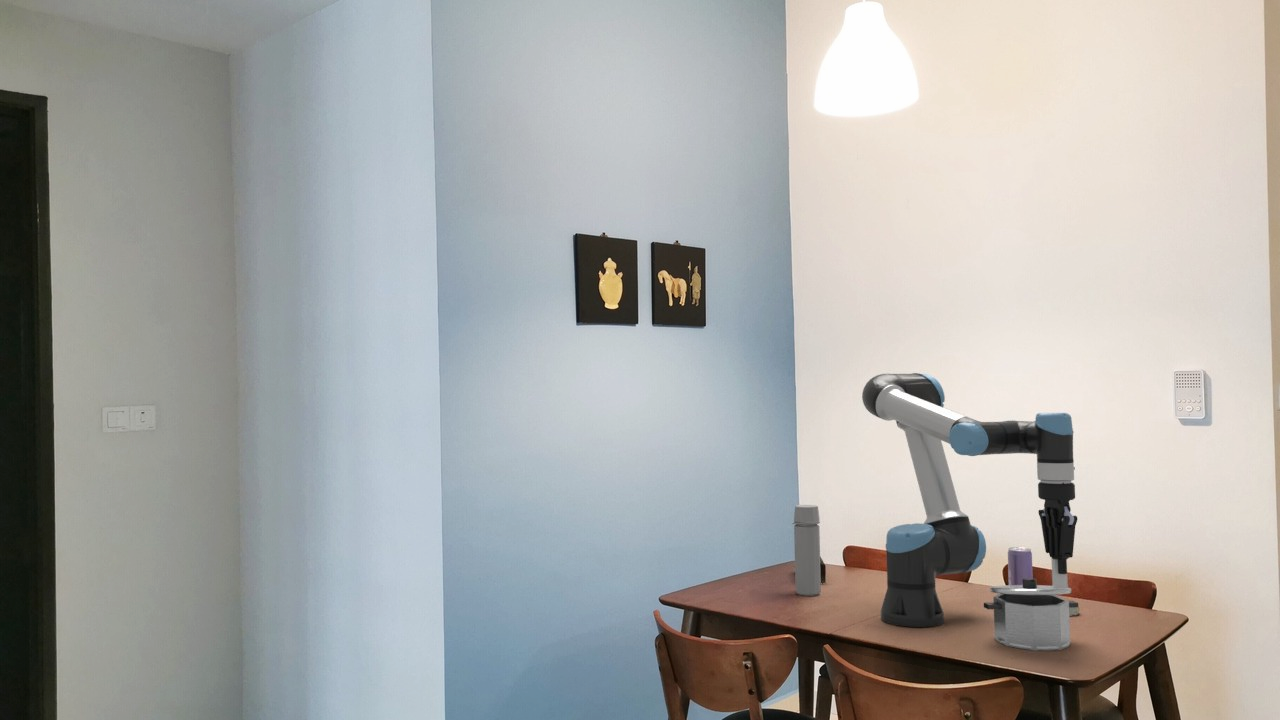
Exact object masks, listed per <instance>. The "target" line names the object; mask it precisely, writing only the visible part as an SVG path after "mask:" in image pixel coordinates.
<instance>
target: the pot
mask: <svg viewBox="0 0 1280 720" xmlns="http://www.w3.org/2000/svg"><path fill="white" fill-rule="evenodd" d="M1065 599H1066V598H1063V597H1060V596H1059V595H1013V594H1000V593H997V595H993V602H992V601H991V602H983V608H984V609H987V610H993V625H994V626H993V628H994V631H993V632H994V640H996V642H998V643H999V644H1001V645H1003V646H1006V647H1011V648H1015V649H1021V650H1025V651H1026V650H1027V651H1034V652H1035V651H1039V652H1041V651H1042V652H1051V651H1054V652H1055V651H1062V650H1066V649H1068V648H1069V647H1070V645H1071V625H1070V623H1071V621H1070V620H1071V619H1070V616H1069V608H1074V607H1079V602H1077V601H1074V600H1071V601H1068V600H1065Z"/></svg>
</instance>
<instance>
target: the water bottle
mask: <svg viewBox="0 0 1280 720" xmlns="http://www.w3.org/2000/svg"><path fill="white" fill-rule="evenodd" d="M793 513H794V517H793V522H792V523H791V525H794V526H793V532H794V535H793V536H794V579H795V581H794V583H795V584H794V585H795V586H794V589H795V590H794V591H795V593H796V594H797V595H800V596H802V595H803V597H814V596H815V595H816V596H818V595H820V594H821V592H822V589H821V588H822V586H821V585H822V584H821V575H820V556H821V546H820V545H821V544H820V543H821V541H820V540H821V536H820V535H821V534H820V525H819V524H820V523H821V520H820V513H819V506H818V505H816V504H797V505H794V512H793Z"/></svg>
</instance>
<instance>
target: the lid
mask: <svg viewBox="0 0 1280 720" xmlns="http://www.w3.org/2000/svg"><path fill="white" fill-rule="evenodd" d="M1022 584H1023V585H1009V584H1008V585H1006V584H1005V585H994V586H990V587H989V589H990V590H989V591H990V592H991V593H995V594H1013V595H1056V596H1059V595H1069V594H1071V593H1072V588H1071V587H1068V588H1066V589H1055V588H1053V586H1052V585H1041V584H1037V578H1033V579H1022Z"/></svg>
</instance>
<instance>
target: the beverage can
mask: <svg viewBox="0 0 1280 720" xmlns="http://www.w3.org/2000/svg"><path fill="white" fill-rule="evenodd" d="M1032 554H1033V553H1032V549H1031V548H1029V547H1022V546H1021V547H1020V546H1019V547H1018V546H1015V547H1014V546H1013V547H1008V551H1007V568H1008V569H1007V573H1008V574H1007V575H1008V585H1023V584H1022V579H1034V578H1033V574H1034V573H1033V555H1032Z"/></svg>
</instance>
